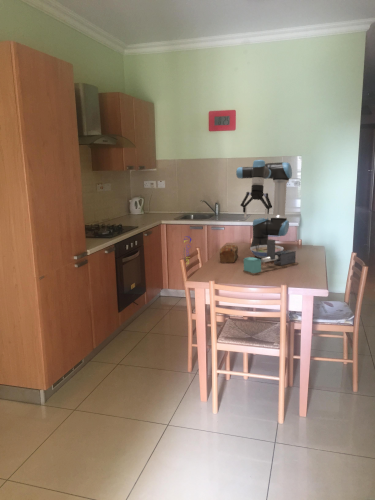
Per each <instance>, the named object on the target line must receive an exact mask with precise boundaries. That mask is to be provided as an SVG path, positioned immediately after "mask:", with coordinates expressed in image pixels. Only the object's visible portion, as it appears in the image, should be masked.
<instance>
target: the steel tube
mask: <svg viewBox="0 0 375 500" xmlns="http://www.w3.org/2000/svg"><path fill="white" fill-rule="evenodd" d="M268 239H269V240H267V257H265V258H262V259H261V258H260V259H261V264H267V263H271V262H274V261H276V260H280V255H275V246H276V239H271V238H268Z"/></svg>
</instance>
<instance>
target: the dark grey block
mask: <svg viewBox="0 0 375 500" xmlns="http://www.w3.org/2000/svg"><path fill="white" fill-rule="evenodd" d="M275 255H280V260H276V261H273V264H275V265H278V266H284V265H288V264H292V263H295V262H296V261H297V260H296V259H297V258H296V255H297V251H295V250H291V249H286V250H283V251H281V252H276V253H275Z"/></svg>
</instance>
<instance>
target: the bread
mask: <svg viewBox="0 0 375 500" xmlns="http://www.w3.org/2000/svg"><path fill="white" fill-rule="evenodd" d="M238 253H239V248H238V245H236V244H234V245H233V244H227V245H224V246H222V247H221V248H220V251H219V262H220V263H223V264H224V263H226V264H227V263H231V264H234V263H235V262H236V261H237V259H238Z"/></svg>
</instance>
